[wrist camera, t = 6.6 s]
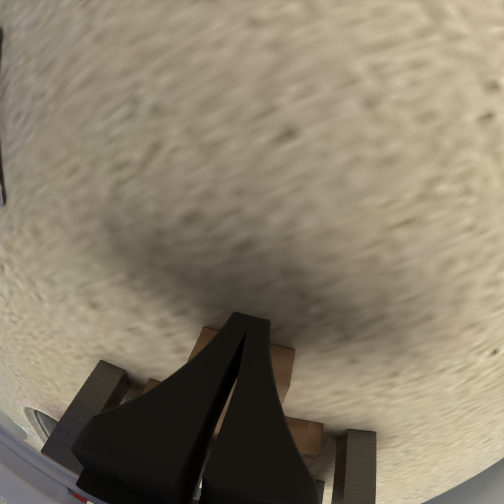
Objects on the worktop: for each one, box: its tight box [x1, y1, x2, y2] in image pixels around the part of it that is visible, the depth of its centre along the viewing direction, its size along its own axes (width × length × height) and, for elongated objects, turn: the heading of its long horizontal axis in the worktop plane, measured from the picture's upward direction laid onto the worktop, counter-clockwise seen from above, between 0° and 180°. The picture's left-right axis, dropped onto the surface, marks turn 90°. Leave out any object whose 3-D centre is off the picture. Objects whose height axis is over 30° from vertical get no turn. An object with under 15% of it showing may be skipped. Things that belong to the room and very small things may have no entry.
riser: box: [41, 360, 376, 504], centre depth 16 cm, size 11×17×7 cm, turn 82°
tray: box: [142, 327, 323, 497], centre depth 15 cm, size 14×10×4 cm
